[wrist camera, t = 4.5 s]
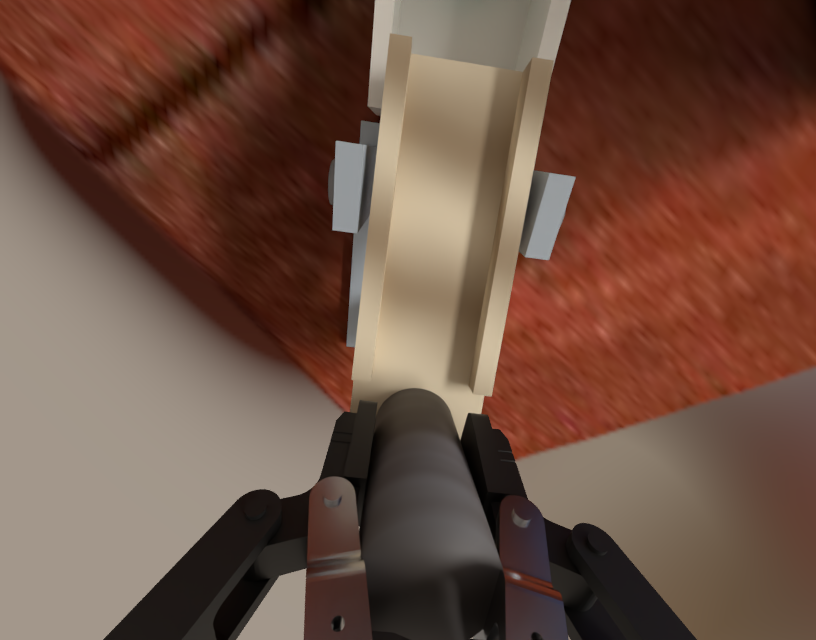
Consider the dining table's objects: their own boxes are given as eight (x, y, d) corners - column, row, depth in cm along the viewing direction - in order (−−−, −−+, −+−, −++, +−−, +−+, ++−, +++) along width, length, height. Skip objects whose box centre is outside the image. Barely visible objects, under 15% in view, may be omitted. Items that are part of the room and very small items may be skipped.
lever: (388, 66, 14) (370, -263, 5) (533, 90, 15) (750, -183, 6) (347, 439, 17) (289, 639, 8) (468, 452, 18) (541, 660, 8)
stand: (361, 121, 20) (325, 99, 12) (523, 146, 20) (598, 142, 12) (347, 342, 27) (317, 428, 18) (469, 357, 27) (495, 447, 19)
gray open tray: (397, -133, 16) (391, -232, 12) (567, -100, 16) (620, -185, 12) (376, 115, 20) (367, 106, 16) (511, 136, 20) (536, 132, 16)
